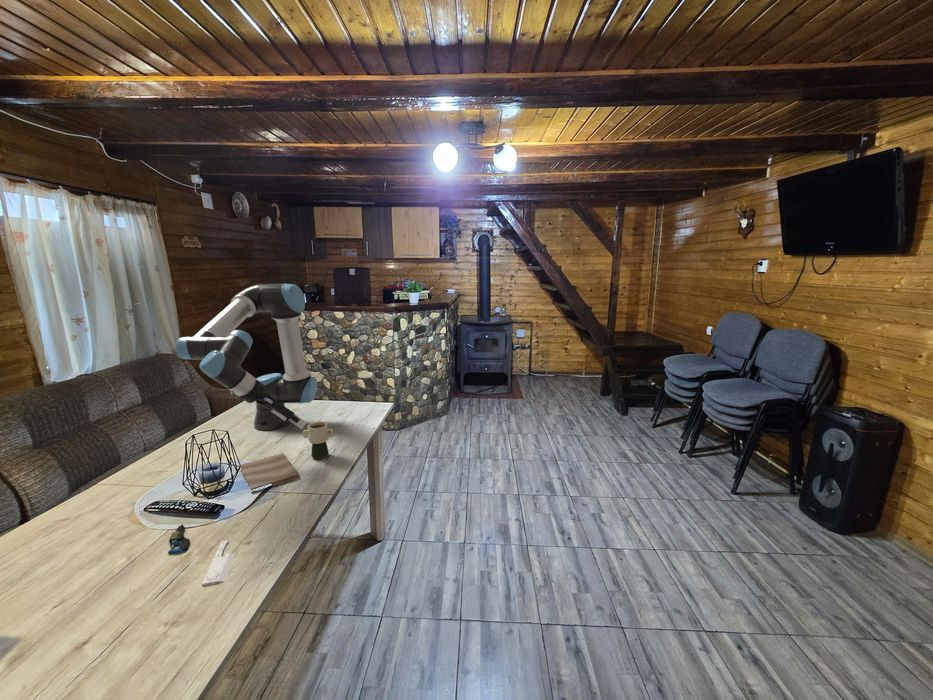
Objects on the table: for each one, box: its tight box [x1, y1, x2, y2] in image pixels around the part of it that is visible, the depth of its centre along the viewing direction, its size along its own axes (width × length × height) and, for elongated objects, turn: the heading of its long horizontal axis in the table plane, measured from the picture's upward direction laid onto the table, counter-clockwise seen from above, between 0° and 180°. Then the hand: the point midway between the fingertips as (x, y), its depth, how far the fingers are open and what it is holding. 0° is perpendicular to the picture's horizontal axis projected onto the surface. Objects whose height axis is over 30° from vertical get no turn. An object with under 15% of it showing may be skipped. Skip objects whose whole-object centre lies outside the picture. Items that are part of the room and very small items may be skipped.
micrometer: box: [167, 523, 191, 555], centre depth 107 cm, size 12×2×5 cm
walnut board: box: [240, 452, 300, 490], centre depth 140 cm, size 20×15×2 cm
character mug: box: [302, 420, 334, 460], centre depth 151 cm, size 11×7×13 cm, turn 98°
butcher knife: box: [201, 540, 236, 587], centre depth 99 cm, size 5×15×1 cm, turn 16°
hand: (295, 421), depth 144 cm, fingers open, 13 cm apart
